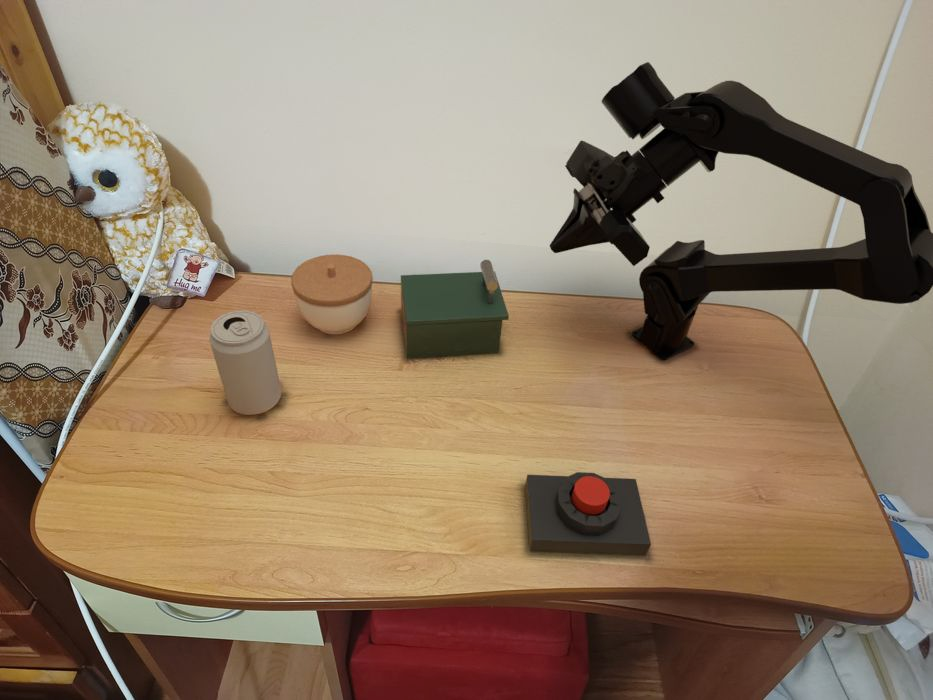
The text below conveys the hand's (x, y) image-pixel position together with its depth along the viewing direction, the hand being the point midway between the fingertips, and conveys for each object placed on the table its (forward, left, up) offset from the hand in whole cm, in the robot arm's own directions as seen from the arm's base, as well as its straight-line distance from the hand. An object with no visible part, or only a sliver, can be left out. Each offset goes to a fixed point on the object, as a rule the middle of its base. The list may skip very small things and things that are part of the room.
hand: (552, 249), depth 82 cm
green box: (+12, -6, -13) cm, 19 cm away
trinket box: (+24, -16, -13) cm, 32 cm away
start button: (+16, +28, -10) cm, 33 cm away
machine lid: (+12, -5, -7) cm, 15 cm away
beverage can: (+39, -7, -13) cm, 42 cm away
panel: (+16, +28, -13) cm, 35 cm away
